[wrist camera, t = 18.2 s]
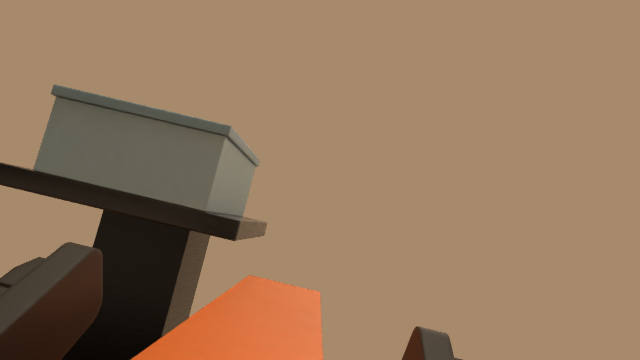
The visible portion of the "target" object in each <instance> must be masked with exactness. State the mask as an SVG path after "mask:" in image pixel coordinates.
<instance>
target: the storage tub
mask: <svg viewBox="0 0 640 360" xmlns="http://www.w3.org/2000/svg"><path fill="white" fill-rule="evenodd" d="M51 94H52V95H54V96H56V99H55V102H54V106H53V108H52V112H51V115H50V118H49V121H48V124H47V128H46V131H45V134H44V137H43V140H42V143H41V147H40V150H39V153H38V156H37V159H36V163H35V166H34V169H33V170H34V171H38V172H42V173H46V174H50V175H54V176H58V177H63V178H67V179H71V180H75V181H79V182H84V183H88V184H92V185H96V186H100V187H104V188H109V189H113V190H117V191H121V192H125V193H130V194H134V195H138V196H142V197H146V198H151V199H155V200H159V201H163V202H167V203H171V204H176V205H180V206H184V207H188V208H192V209H197V210H201V211H205V212H212V213H220V214H227V215H234V216H241V217H242V216H243V213H244V210H245V206H246V202H247V198H248V194H249V190H250V186H251V182H252V179H253V175H254V171H255V166H259V162H260V160H259V159H258V157H257V156H256V155H255V154H254V153H253V152H252V150H251V149H250V148H249V147H248V146H247V145H246V143H245V142H244V141H243V140H242V139H241V137H240V136H239V135H238V134H237V133H236V132H235V130H234V129H233V128H232V127H231V126H229V125H225V124H221V123H217V122H212V121H208V120H203V119H199V118H195V117H191V116H187V115H182V114H178V113H174V112H170V111H165V110H161V109H157V108H153V107H148V106H144V105H140V104H136V103H131V102H127V101H122V100H119V99H114V98H110V97H106V96H101V95H97V94H93V93H89V92H84V91H80V90H76V89H72V88H68V87H63V86H59V85H54V86H53V89H52V92H51Z"/></svg>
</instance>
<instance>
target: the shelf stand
mask: <svg viewBox="0 0 640 360" xmlns="http://www.w3.org/2000/svg"><path fill="white" fill-rule="evenodd" d="M0 185H3V186H7V187H12V188H15V189H20V190H24V191H28V192H32V193H36V194H40V195H45V196H49V197H53V198H57V199H61V200H65V201H70V202H74V203H79V204H83V205H87V206H91V207H95V208H99V209H103V214H102V217H101V221H100V224H99V227H98V231H97V235H96V238H95V241H94V245H93V248H96V249H99V250H101V252H102V255H103V298H102V304H101V307H100V310H99V312H98V314H97V316H96V318H95V320H94V321H93V323H92V324H91V325H90V326H89V327H88V329H87V330H86V331H85V332H84V333H83V334H82V336H81V337H80V338H79V339H78V340H77V341H76V343H75V344H74V345H73V346H72V347H71V348H70V350H69V351H68V352H67V353H66V354H65V356H64V357H63V358H62V359H61V360H131V359H132V358H133V357H135V356H136V355H138V354H139V353H140V352H142V351H143V350H145V349H146V348H147V347H149V346H150V345H152V344H153V343H154V342H156V341H157V340H159V339H160V338H162V337H163V336H164V335H166V334H167V333H169V332H170V331H171V330H173V329H174V328H176V327H177V326H178V325H180V324H181V323H183V322H184V321H185V320H187V319H188V318H189V314H190V310H191V306H192V303H193V299H194V295H195V291H196V288H197V284H198V280H199V276H200V272H201V268H202V265H203V261H204V257H205V253H206V249H207V246H208V242H209V238H210V235H211V236H215V237H220V238H224V239H228V240H232V241H236V240H242V239H247V238H254V237H260V236H264V234H265V230H266V226H267V223H266V222H263V221H259V220H255V219H251V218H247V217H241V216H234V215H227V214H220V213H212V212H205V211H201V210H197V209H192V208H188V207H184V206H180V205H176V204H171V203H167V202H163V201H159V200H155V199H151V198H146V197H142V196H138V195H134V194H130V193H125V192H121V191H117V190H113V189H109V188H104V187H100V186H96V185H92V184H88V183H84V182H79V181H75V180H71V179H67V178H63V177H58V176H54V175H50V174H46V173H42V172H38V171H34V170H33V169H29V168H24V167H19V166H14V165H10V164H5V163H0Z"/></svg>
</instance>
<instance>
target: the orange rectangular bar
mask: <svg viewBox="0 0 640 360" xmlns="http://www.w3.org/2000/svg"><path fill="white" fill-rule="evenodd" d="M131 360H323V344H322V323H321V301H320V292H318V291H314V290H310V289H305V288H301V287H297V286H293V285H289V284H284V283H280V282H276V281H272V280H268V279H263V278H259V277H256V276H252V275H249V276H247V277H246V278H245V279H243V280H242V281H241V282H239V283H238V284H236V285H235V286H234V287H232V288H231V289H229V290H228V291H226V292H225V293H224V294H222V295H221V296H219V297H218V298H217V299H215V300H214V301H213V302H211V303H209V304H208V305H207V306H205V307H204V308H202V309H201V310H200V311H198V312H197V313H195V314H194V315H193V316H191V317H190V318H188V319H187V320H185V321H184V322H183V323H181V324H180V325H178V326H177V327H176V328H174V329H173V330H171V331H170V332H169V333H167V334H166V335H164V336H163V337H162V338H160V339H159V340H157V341H156V342H154V343H153V344H152V345H150V346H149V347H147V348H146V349H145V350H143V351H142V352H140V353H139V354H138V355H136V356H135V357H133V358H132V359H131Z"/></svg>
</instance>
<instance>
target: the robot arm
mask: <svg viewBox="0 0 640 360" xmlns="http://www.w3.org/2000/svg"><path fill="white" fill-rule="evenodd" d="M102 298H103V255H102V252H101V250H99V249H96V248H92V247H88V246H84V245H80V244H75V243H71V242H68V243H65V244H64V245H62V246H61V247H60V248H58V249H57V250H56V251H55V252H53V253H52V254H51V255H50V256H48V257H47V258H46V259H45V258H41V257H38V258H36V259H33V260H31V261H29V262H26V263H24V264H22V265H19V266H17V267H15V268H13V269H12V270H11V271H9V272H8V273H7V274H5V275H4V276H3V277H2V278H0V360H61V359H62V358H63V357H64V356H65V354H66V353H67V352H68V351H69V350H70V348H71V347H72V346H73V345H74V344H75V343H76V341H77V340H78V339H79V338H80V337H81V336H82V334H83V333H84V332H85V331H86V330H87V329H88V327H89V326H90V325H91V324H92V323H93V321H94V320H95V318H96V316H97V314H98V312H99V310H100V307H101V304H102ZM402 360H462V359H457V358H454V356H453V351H452V347H451V343H450V339H449V336H448V335H447V334H446V333H443V332H438V331H435V330H431V329H426V328H422V327H416V328H415V329H414V330H413V332H412V335H411V338H410V340H409V343H408V345H407V348H406V351H405V353H404V356H403V358H402Z"/></svg>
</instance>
